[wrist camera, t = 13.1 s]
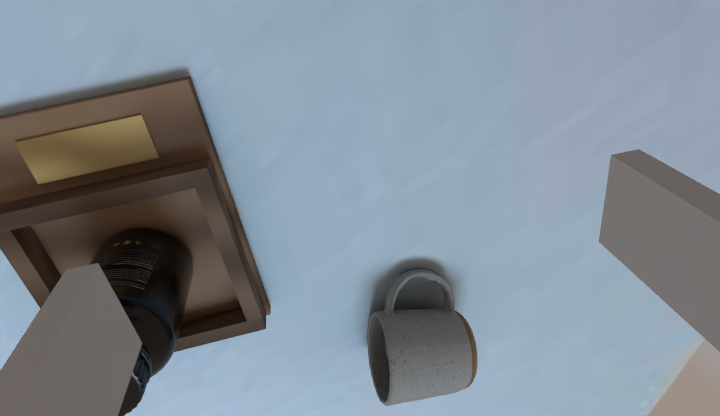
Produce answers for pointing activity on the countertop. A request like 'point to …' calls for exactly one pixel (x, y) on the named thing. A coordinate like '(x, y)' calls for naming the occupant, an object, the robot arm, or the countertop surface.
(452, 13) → the countertop surface
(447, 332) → the ceramic mug
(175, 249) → the supplement bottle
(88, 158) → the framed wooden board
